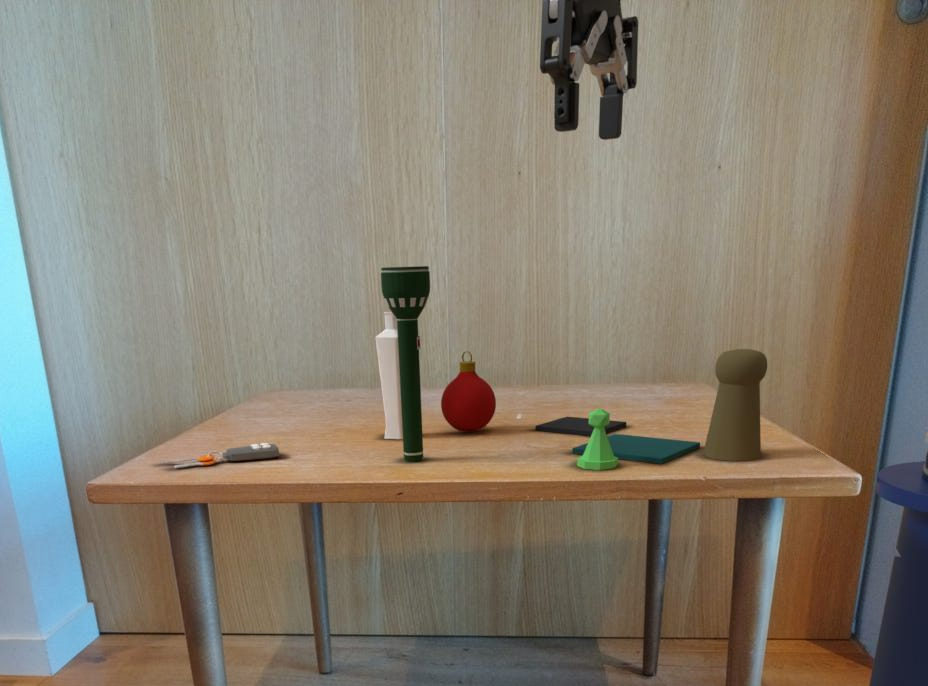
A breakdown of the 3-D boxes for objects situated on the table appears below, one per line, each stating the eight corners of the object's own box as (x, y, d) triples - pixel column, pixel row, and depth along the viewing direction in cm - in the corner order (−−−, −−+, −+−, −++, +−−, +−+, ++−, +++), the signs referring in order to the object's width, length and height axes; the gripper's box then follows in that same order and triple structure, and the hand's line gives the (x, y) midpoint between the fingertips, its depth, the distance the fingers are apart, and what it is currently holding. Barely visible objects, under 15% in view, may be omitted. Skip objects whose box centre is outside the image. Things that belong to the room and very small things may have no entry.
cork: (738, 447, 97) (749, 345, 92) (772, 457, 91) (786, 350, 87) (692, 452, 95) (701, 349, 90) (724, 462, 90) (735, 353, 85)
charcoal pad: (626, 426, 111) (626, 421, 110) (596, 436, 105) (596, 431, 105) (566, 420, 116) (567, 416, 115) (534, 430, 110) (535, 425, 110)
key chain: (274, 453, 102) (273, 440, 101) (280, 458, 99) (279, 445, 98) (162, 464, 98) (160, 451, 97) (165, 470, 94) (163, 457, 94)
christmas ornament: (430, 433, 110) (427, 352, 106) (465, 425, 115) (464, 347, 111) (472, 438, 106) (471, 355, 102) (507, 430, 111) (506, 349, 107)
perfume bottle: (422, 434, 110) (417, 310, 104) (407, 440, 106) (401, 312, 100) (391, 432, 112) (384, 311, 106) (375, 438, 108) (367, 313, 102)
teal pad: (700, 447, 97) (700, 442, 97) (661, 464, 90) (662, 458, 90) (614, 438, 103) (614, 433, 103) (572, 453, 96) (572, 448, 96)
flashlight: (428, 465, 93) (420, 266, 85) (384, 464, 94) (372, 268, 86) (441, 456, 97) (435, 266, 89) (400, 454, 99) (390, 267, 90)
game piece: (579, 470, 88) (581, 411, 86) (575, 461, 92) (576, 405, 90) (620, 469, 88) (623, 410, 86) (614, 460, 92) (617, 404, 90)
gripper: (593, -107, 69) (585, 123, 76) (668, -63, 79) (656, 137, 86) (516, -83, 74) (516, 133, 80) (597, -44, 84) (591, 144, 90)
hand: (588, 135), depth 83 cm, fingers open, 8 cm apart
